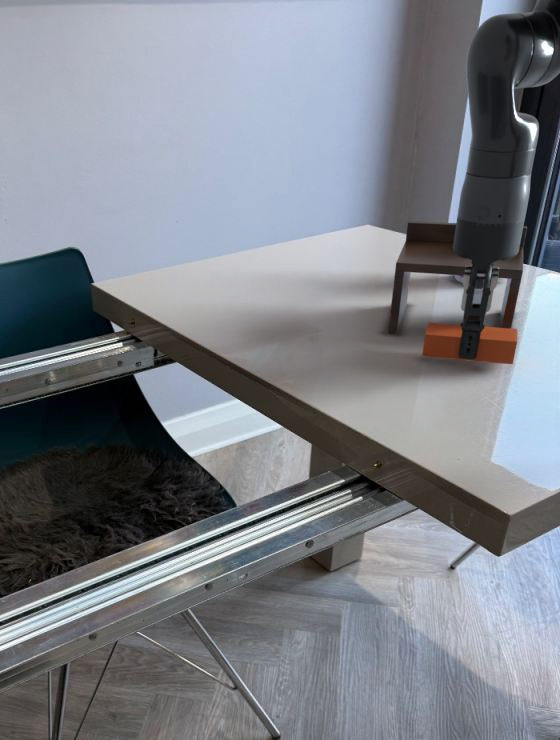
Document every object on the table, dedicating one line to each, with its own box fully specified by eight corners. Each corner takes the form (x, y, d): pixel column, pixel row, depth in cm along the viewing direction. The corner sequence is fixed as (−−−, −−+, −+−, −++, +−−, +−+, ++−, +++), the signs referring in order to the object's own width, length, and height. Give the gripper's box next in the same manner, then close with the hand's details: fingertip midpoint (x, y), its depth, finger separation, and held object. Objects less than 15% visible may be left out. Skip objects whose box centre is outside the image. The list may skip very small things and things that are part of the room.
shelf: (509, 313, 116) (527, 226, 109) (507, 343, 106) (527, 250, 99) (398, 304, 121) (408, 220, 114) (387, 333, 111) (398, 243, 104)
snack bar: (513, 351, 102) (517, 328, 100) (512, 364, 98) (517, 341, 97) (425, 343, 105) (428, 322, 104) (422, 356, 102) (425, 334, 100)
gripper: (525, 230, 85) (497, 375, 95) (525, 200, 96) (500, 333, 106) (453, 227, 88) (433, 369, 97) (461, 198, 99) (442, 328, 108)
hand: (468, 349), depth 102 cm, fingers closed on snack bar, 4 cm apart
